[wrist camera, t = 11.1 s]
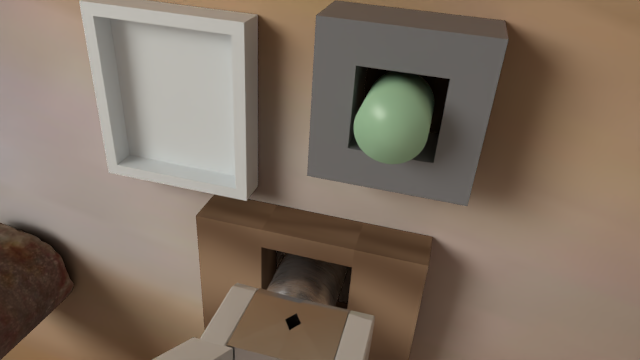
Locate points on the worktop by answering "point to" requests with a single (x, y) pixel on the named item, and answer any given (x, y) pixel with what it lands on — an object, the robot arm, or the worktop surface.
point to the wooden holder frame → (322, 244)
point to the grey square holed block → (410, 57)
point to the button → (395, 118)
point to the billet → (308, 279)
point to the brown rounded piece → (27, 284)
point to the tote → (176, 93)
